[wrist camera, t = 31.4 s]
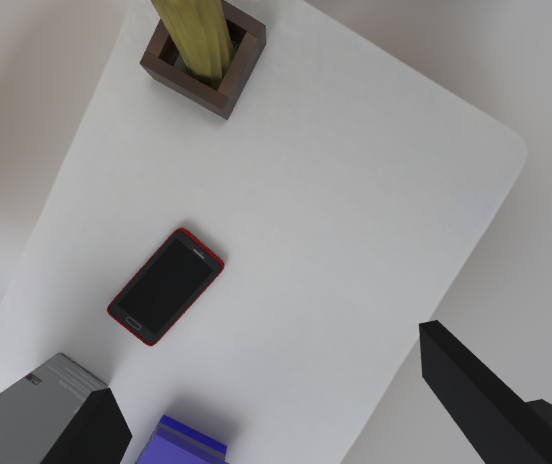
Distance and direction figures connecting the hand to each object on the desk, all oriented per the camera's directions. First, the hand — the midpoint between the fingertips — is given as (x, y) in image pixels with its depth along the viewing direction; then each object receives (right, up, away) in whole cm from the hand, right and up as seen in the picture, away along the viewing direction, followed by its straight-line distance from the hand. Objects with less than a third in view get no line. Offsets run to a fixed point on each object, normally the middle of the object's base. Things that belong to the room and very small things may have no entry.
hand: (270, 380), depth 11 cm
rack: (-8, +27, +21) cm, 35 cm away
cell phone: (-14, -1, +24) cm, 28 cm away
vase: (-8, +27, +21) cm, 35 cm away
